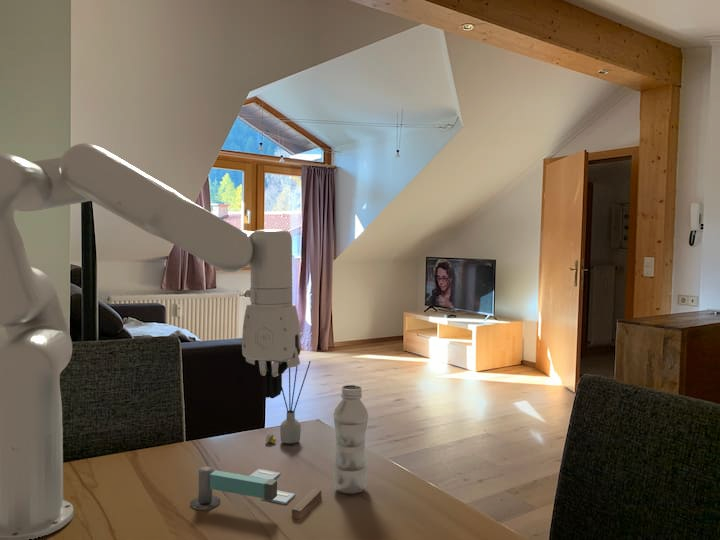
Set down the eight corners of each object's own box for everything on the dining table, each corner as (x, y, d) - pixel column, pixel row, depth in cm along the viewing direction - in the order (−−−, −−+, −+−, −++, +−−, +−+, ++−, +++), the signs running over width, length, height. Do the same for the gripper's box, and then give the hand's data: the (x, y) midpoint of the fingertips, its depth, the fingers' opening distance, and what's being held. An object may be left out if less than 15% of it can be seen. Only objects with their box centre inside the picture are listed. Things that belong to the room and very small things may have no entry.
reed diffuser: (308, 438, 132) (310, 356, 130) (310, 449, 125) (311, 362, 124) (265, 439, 130) (266, 356, 129) (264, 450, 123) (266, 363, 122)
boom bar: (195, 502, 98) (195, 471, 97) (203, 496, 100) (203, 465, 100) (270, 516, 93) (271, 484, 93) (277, 510, 95) (277, 478, 95)
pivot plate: (184, 506, 97) (184, 505, 97) (202, 494, 102) (202, 493, 102) (208, 512, 95) (208, 511, 95) (226, 499, 100) (226, 498, 100)
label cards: (229, 492, 103) (229, 489, 103) (258, 470, 113) (258, 468, 113) (285, 504, 99) (285, 501, 99) (311, 480, 108) (311, 478, 108)
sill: (291, 517, 94) (292, 509, 94) (313, 496, 102) (313, 488, 102) (300, 519, 93) (300, 511, 93) (321, 498, 101) (321, 490, 101)
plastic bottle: (363, 500, 101) (366, 393, 100) (328, 496, 102) (330, 390, 101) (370, 485, 107) (372, 384, 106) (336, 481, 109) (338, 381, 107)
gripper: (225, 297, 99) (226, 397, 100) (299, 301, 94) (299, 406, 95) (247, 293, 106) (248, 386, 107) (317, 296, 101) (318, 394, 102)
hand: (272, 395), depth 101 cm, fingers closed
